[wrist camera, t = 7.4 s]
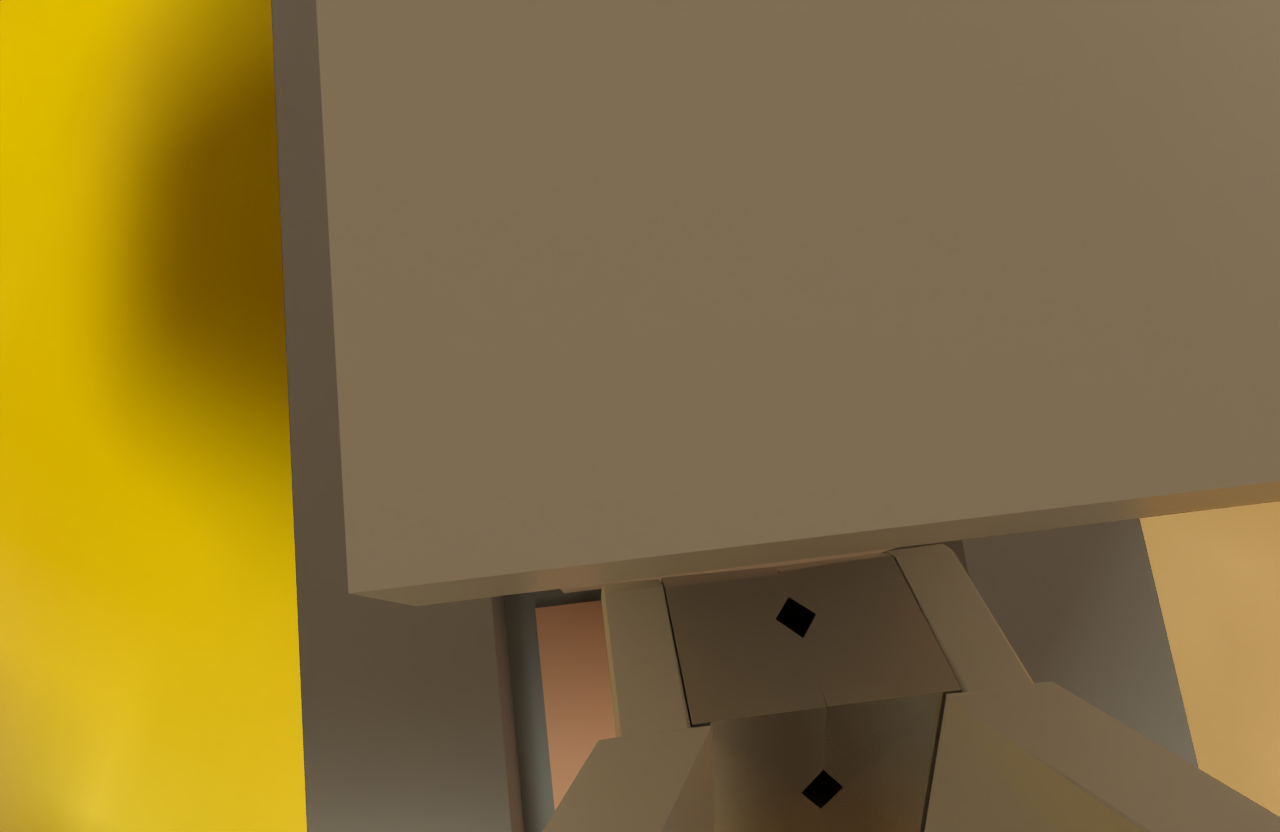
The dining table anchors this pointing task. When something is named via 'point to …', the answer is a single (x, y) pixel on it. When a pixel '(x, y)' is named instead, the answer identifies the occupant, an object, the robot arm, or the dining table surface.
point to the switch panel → (575, 597)
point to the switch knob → (790, 278)
